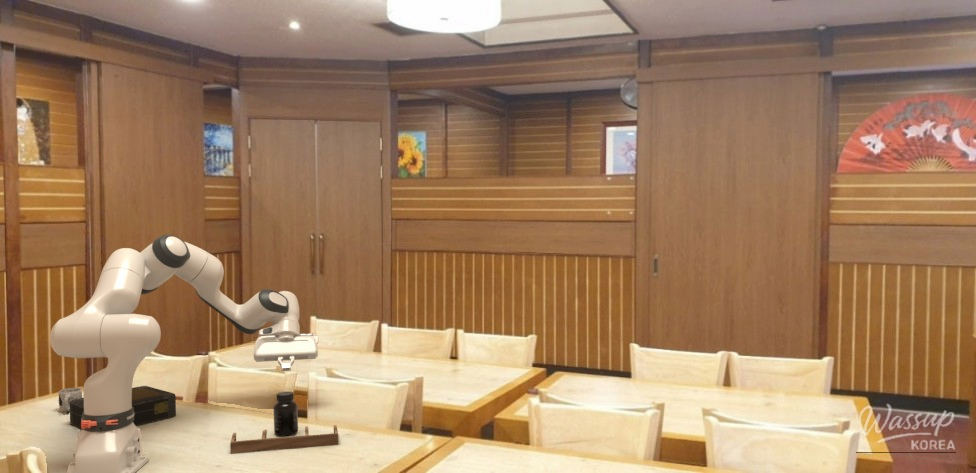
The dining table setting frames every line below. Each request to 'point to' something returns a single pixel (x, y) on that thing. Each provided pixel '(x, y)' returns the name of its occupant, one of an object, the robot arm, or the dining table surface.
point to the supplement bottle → (285, 415)
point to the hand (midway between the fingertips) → (286, 370)
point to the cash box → (137, 406)
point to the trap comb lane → (283, 442)
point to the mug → (68, 398)
